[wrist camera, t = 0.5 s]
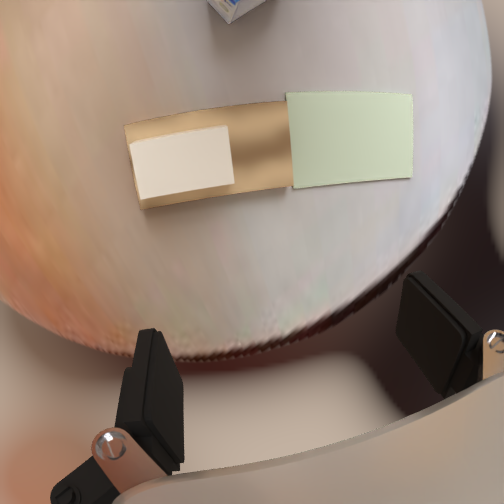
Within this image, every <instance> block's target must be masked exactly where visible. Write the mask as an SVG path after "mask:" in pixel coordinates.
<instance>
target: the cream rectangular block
mask: <svg viewBox="0 0 504 504" xmlns="http://www.w3.org/2000/svg"><path fill="white" fill-rule="evenodd" d="M129 146H130V151H131V156H132V162H133V167H134V172H135V177H136V181H137V186H138V191H139V195H140V200H142V199H147V198H152V197H157V196H163V195H168V194H174V193H179V192H185V191H191V190H197V189H203V188H209V187H215V186H221V185H228V184H235V182H234V174H233V166H232V158H231V150H230V142H229V134H228V126H226V125H220V126H213V127H206V128H200V129H194V130H188V131H182V132H177V133H171V134H166V135H161V136H156V137H151V138H146V139H142V140H137V141H134V142H132V143H131V144H129Z"/></svg>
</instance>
